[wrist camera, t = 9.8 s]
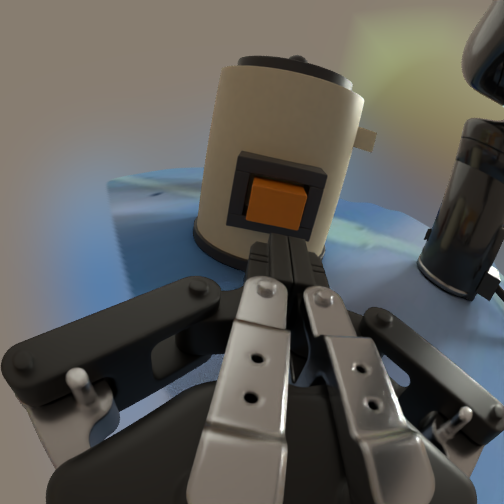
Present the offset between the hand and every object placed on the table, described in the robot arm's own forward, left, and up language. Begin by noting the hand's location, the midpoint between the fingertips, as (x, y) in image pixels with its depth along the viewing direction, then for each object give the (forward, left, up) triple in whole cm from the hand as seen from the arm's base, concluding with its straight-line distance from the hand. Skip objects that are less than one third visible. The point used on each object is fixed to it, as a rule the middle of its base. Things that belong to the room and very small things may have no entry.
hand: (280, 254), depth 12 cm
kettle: (+10, -14, -7) cm, 19 cm away
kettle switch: (+5, -5, -1) cm, 7 cm away
